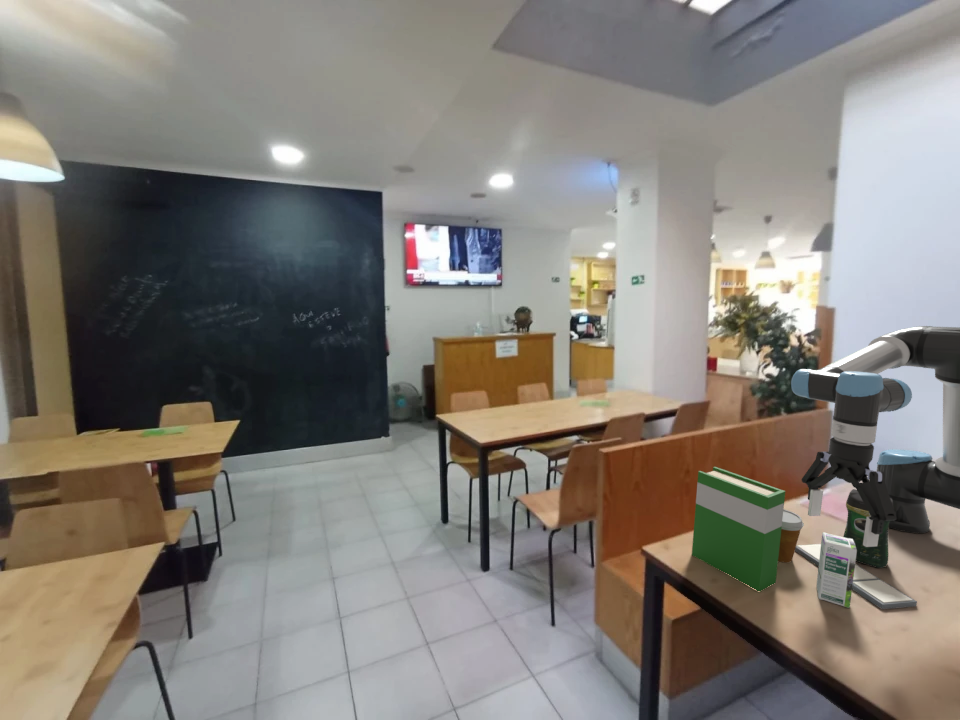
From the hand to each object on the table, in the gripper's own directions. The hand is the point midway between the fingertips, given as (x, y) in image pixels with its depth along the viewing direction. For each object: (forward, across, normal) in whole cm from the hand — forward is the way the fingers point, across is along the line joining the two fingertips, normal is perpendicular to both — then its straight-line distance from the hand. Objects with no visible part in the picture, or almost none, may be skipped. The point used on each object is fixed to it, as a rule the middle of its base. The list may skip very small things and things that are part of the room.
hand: (840, 529), depth 99 cm
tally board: (+17, -7, +12) cm, 22 cm away
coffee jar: (+17, -13, +24) cm, 32 cm away
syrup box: (+17, 0, 0) cm, 17 cm away
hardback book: (+17, -13, -16) cm, 27 cm away
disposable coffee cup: (+17, -17, +1) cm, 24 cm away
